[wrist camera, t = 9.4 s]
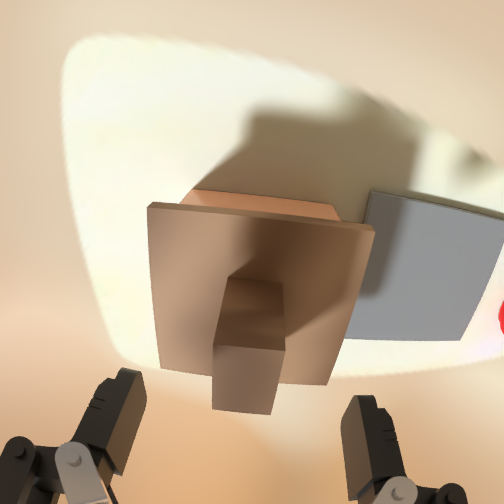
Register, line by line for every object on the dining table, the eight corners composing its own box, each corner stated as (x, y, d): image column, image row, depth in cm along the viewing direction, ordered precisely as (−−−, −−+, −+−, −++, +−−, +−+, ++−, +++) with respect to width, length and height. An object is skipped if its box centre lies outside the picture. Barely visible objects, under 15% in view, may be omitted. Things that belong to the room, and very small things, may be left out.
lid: (370, 224, 14) (413, 287, 9) (325, 375, 18) (334, 447, 14) (152, 201, 14) (100, 254, 9) (164, 359, 19) (140, 427, 14)
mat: (505, 220, 18) (510, 223, 18) (457, 336, 23) (459, 340, 23) (370, 190, 18) (373, 193, 18) (333, 332, 23) (334, 337, 23)
